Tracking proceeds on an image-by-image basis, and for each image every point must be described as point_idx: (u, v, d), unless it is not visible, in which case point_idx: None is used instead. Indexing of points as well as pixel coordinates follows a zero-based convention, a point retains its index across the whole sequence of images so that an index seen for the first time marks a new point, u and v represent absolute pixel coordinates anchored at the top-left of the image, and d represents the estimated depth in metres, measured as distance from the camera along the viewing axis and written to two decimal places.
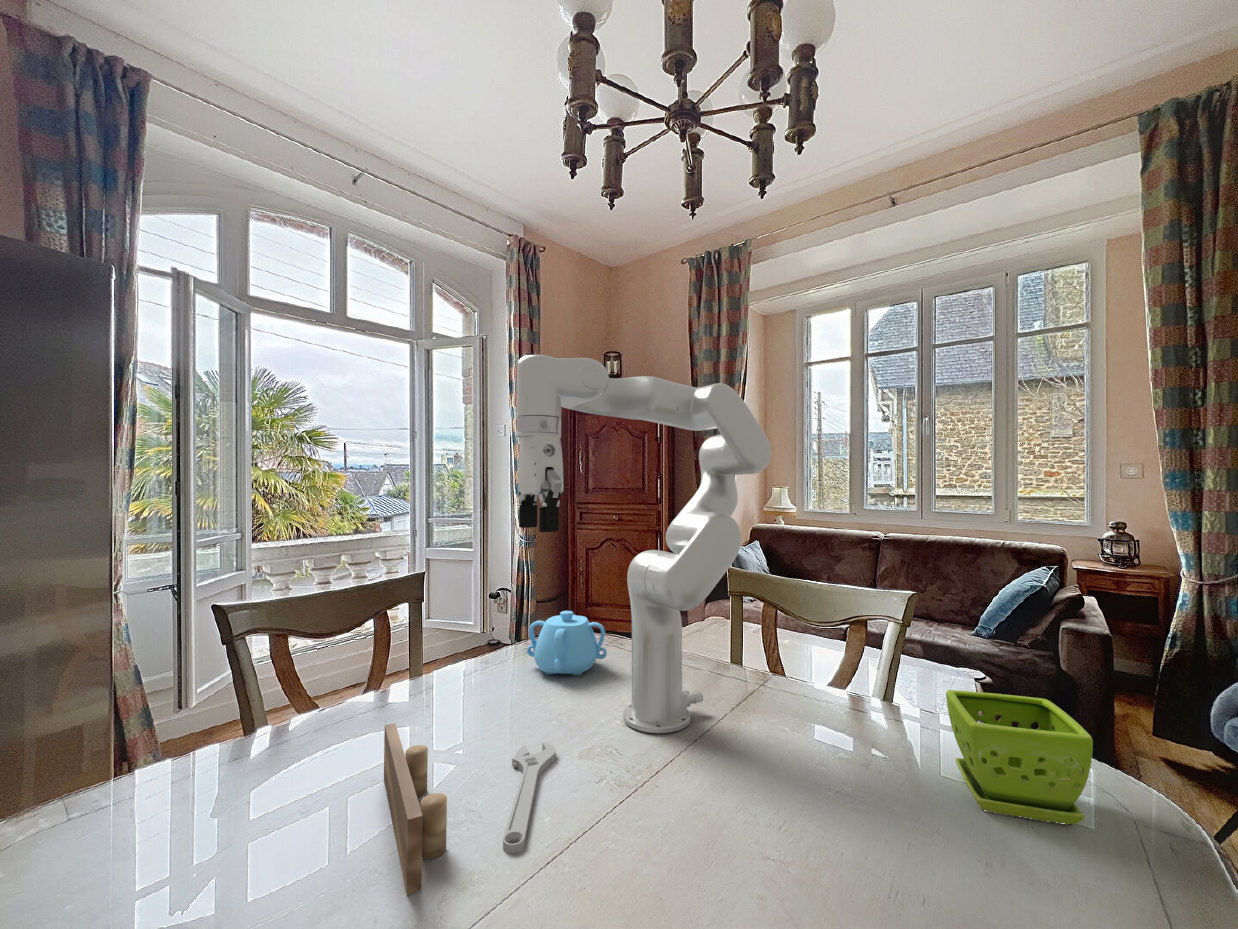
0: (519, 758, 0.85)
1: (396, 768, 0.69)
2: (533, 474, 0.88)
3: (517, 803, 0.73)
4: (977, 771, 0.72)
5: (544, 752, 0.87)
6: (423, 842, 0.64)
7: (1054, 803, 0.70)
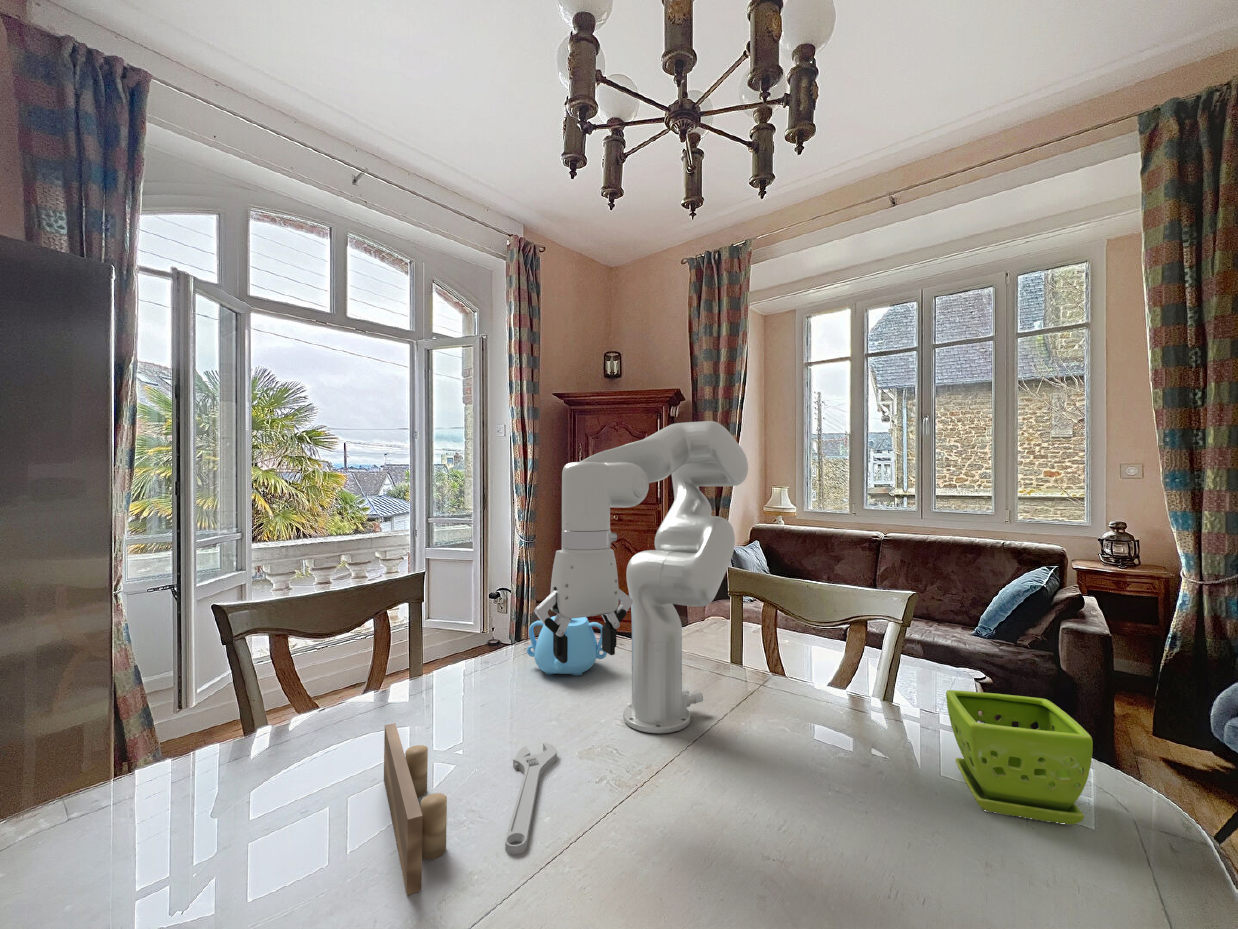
0: (520, 759, 0.85)
1: (396, 768, 0.69)
2: (612, 592, 0.83)
3: (519, 804, 0.73)
4: (977, 771, 0.72)
5: (545, 752, 0.87)
6: (423, 842, 0.64)
7: (1054, 803, 0.70)
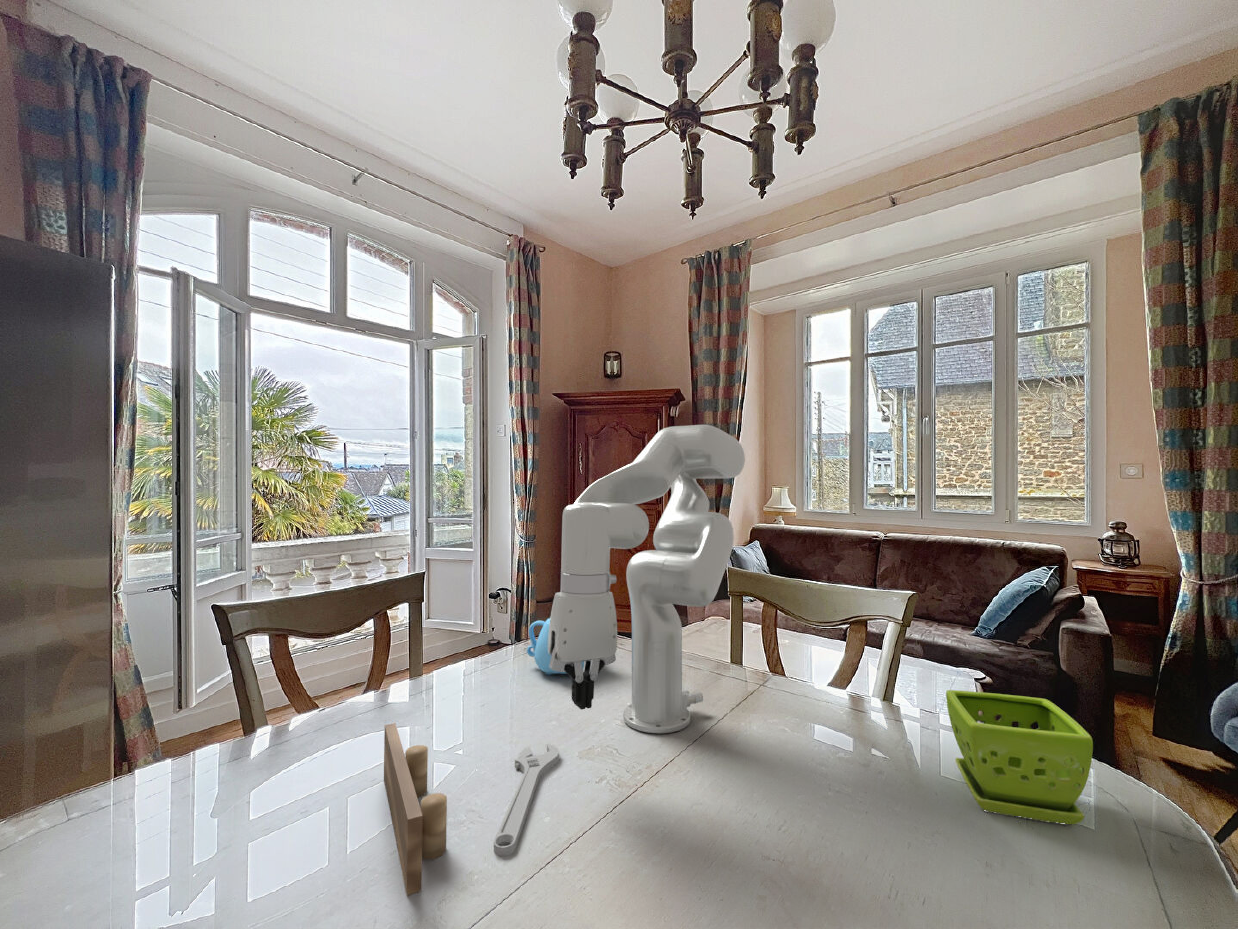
0: (521, 759, 0.85)
1: (396, 768, 0.69)
2: (610, 636, 0.83)
3: (513, 805, 0.73)
4: (977, 771, 0.72)
5: (547, 753, 0.86)
6: (423, 842, 0.64)
7: (1054, 803, 0.70)
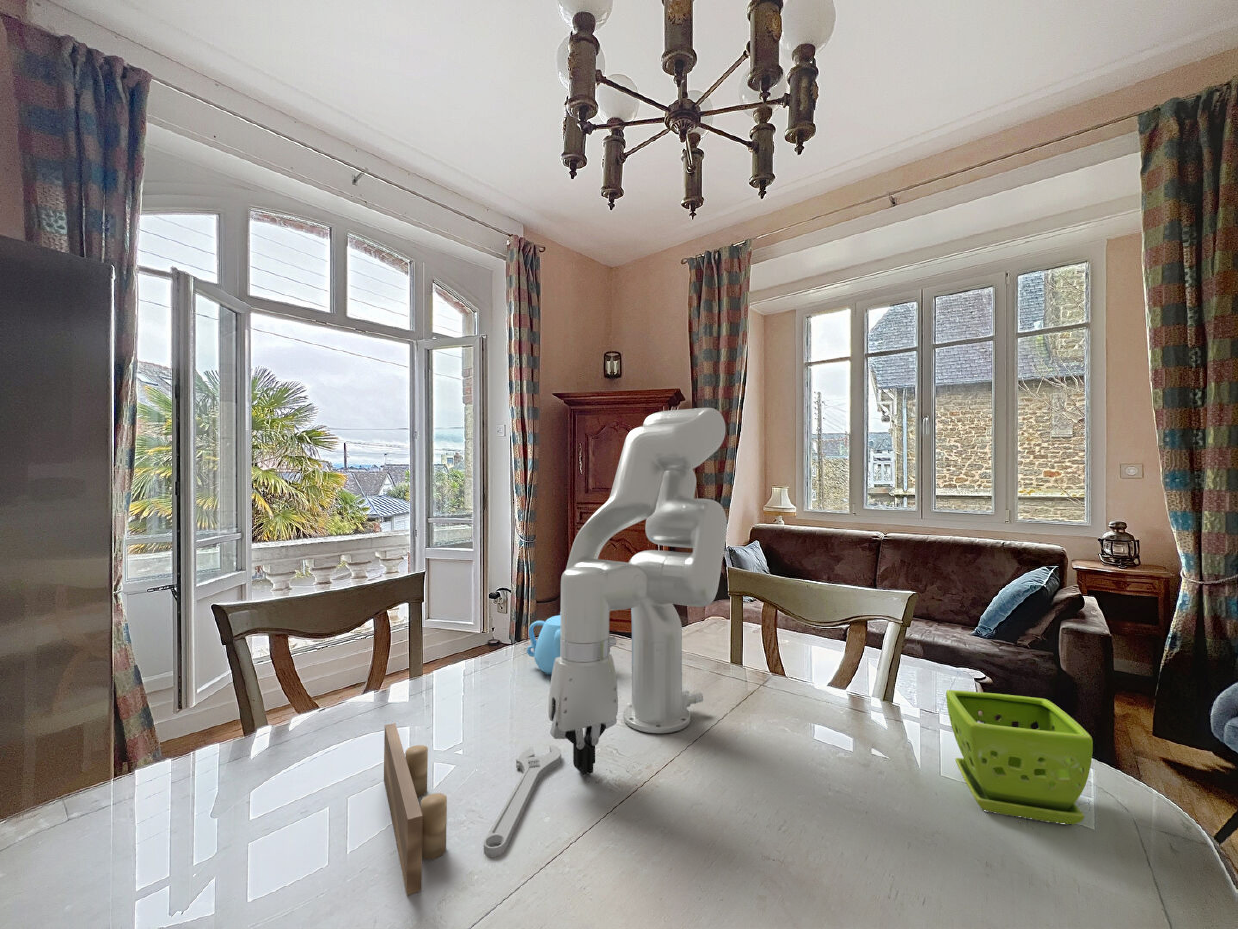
0: (523, 759, 0.84)
1: (396, 768, 0.69)
2: (611, 701, 0.83)
3: (508, 805, 0.73)
4: (977, 771, 0.72)
5: (549, 755, 0.86)
6: (423, 842, 0.64)
7: (1054, 803, 0.70)
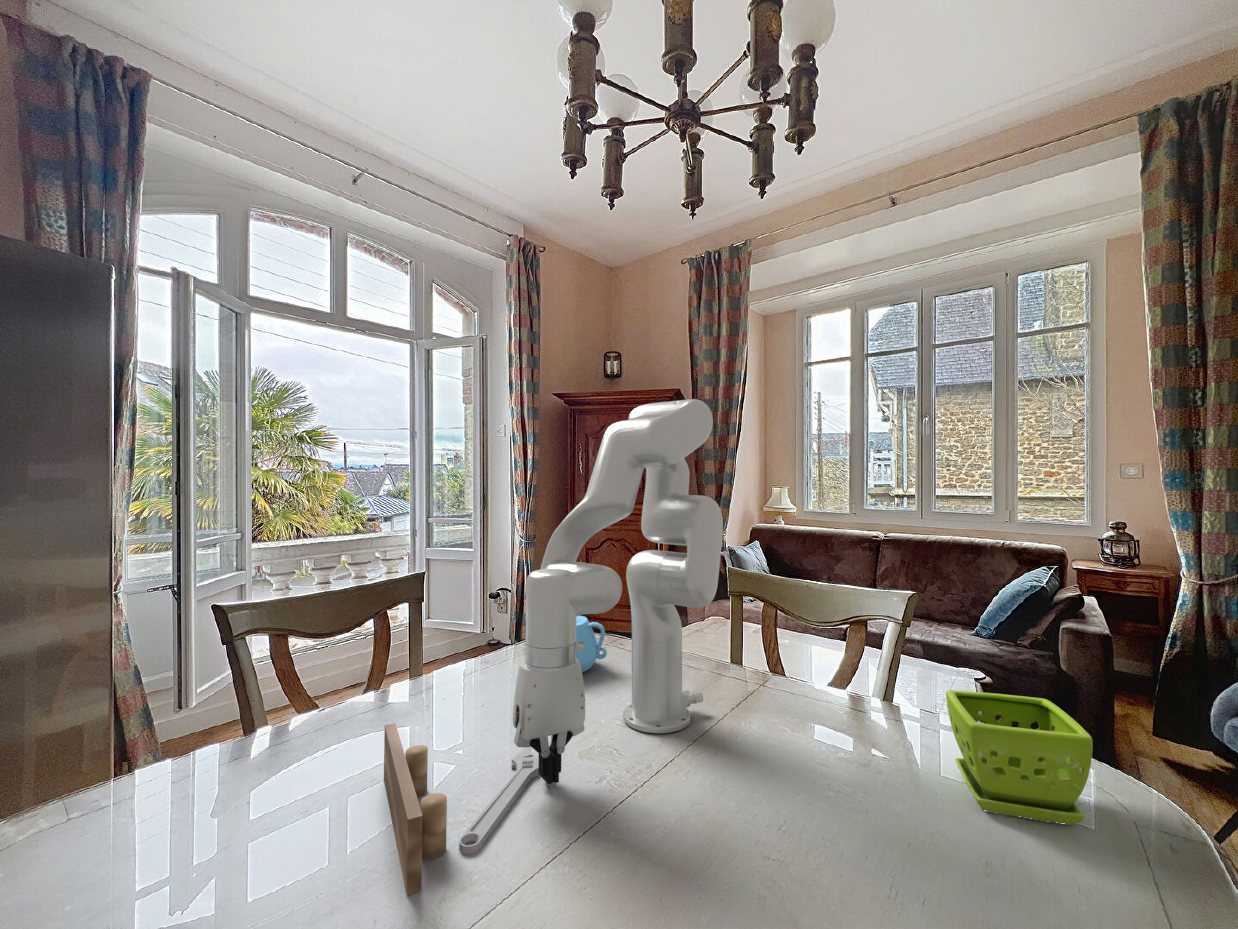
0: (518, 759, 0.85)
1: (396, 768, 0.69)
2: (578, 708, 0.80)
3: (492, 805, 0.73)
4: (977, 771, 0.72)
5: None
6: (423, 842, 0.64)
7: (1054, 803, 0.70)
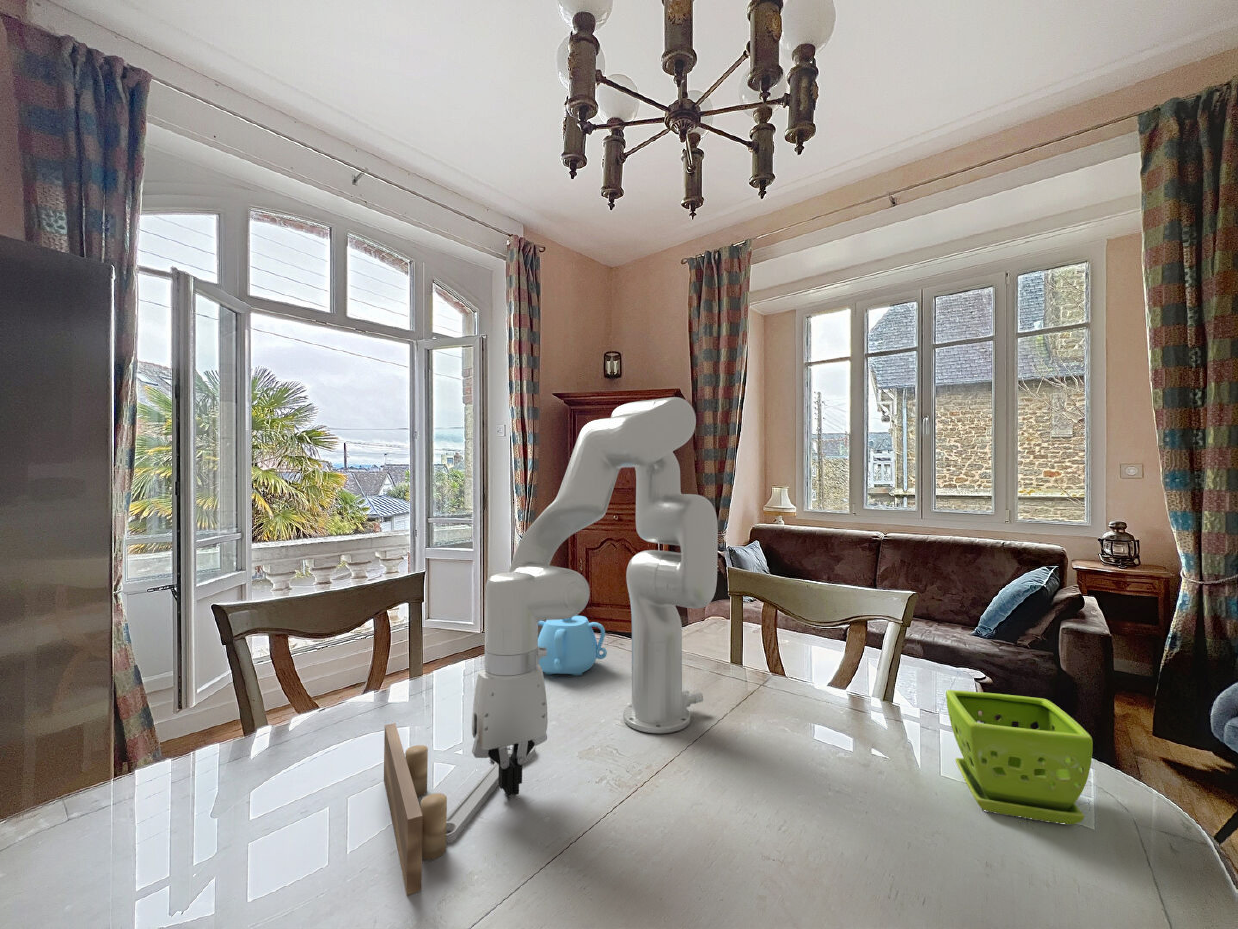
0: None
1: (396, 768, 0.69)
2: (539, 716, 0.77)
3: (469, 796, 0.75)
4: (977, 771, 0.72)
5: None
6: (423, 842, 0.64)
7: (1054, 803, 0.70)
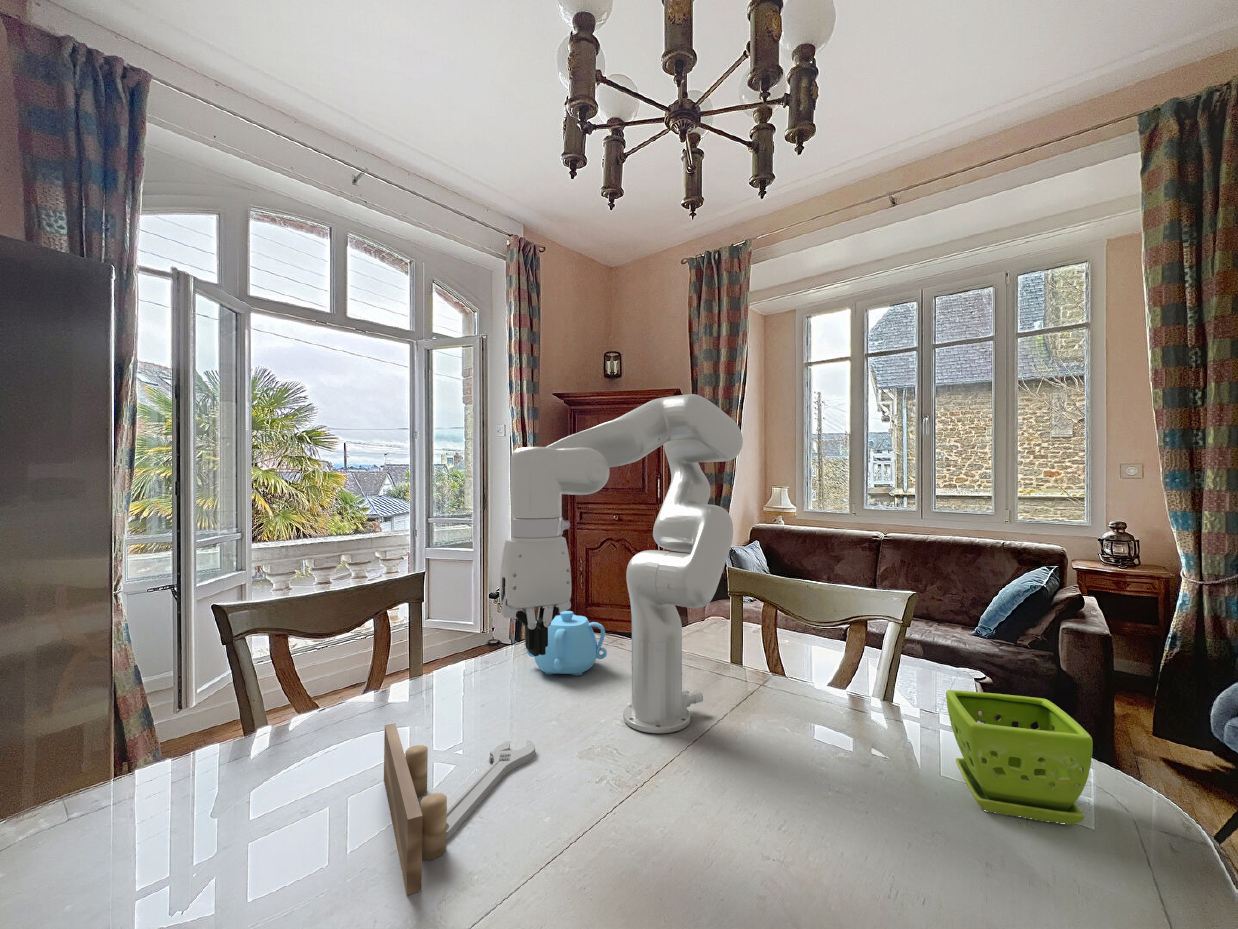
0: (496, 752, 0.87)
1: (396, 768, 0.69)
2: (564, 582, 0.80)
3: (466, 795, 0.75)
4: (977, 771, 0.72)
5: (522, 749, 0.88)
6: (423, 842, 0.64)
7: (1054, 803, 0.70)
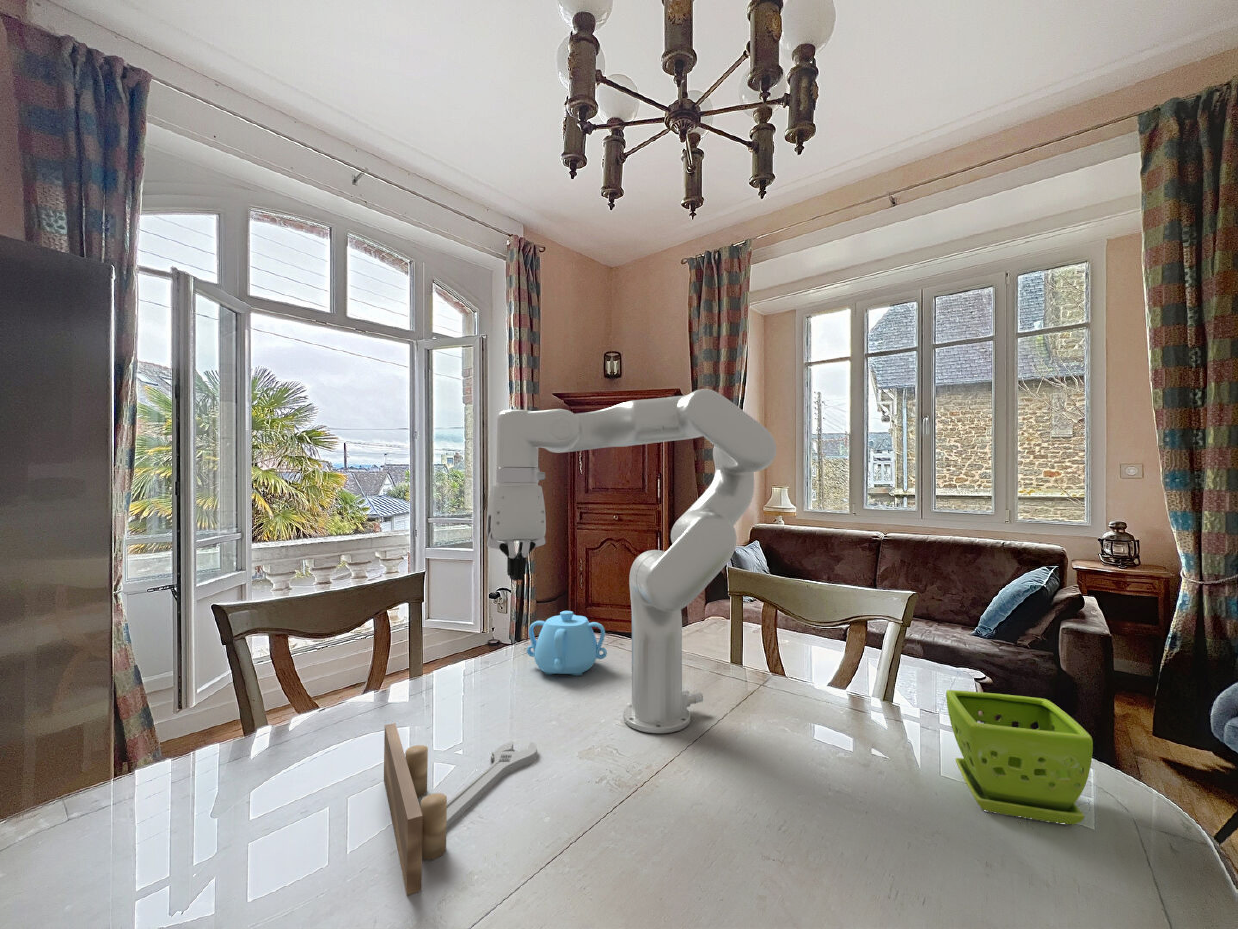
0: (497, 753, 0.87)
1: (396, 768, 0.69)
2: (539, 521, 0.98)
3: (460, 795, 0.75)
4: (977, 771, 0.72)
5: (523, 751, 0.87)
6: (423, 842, 0.64)
7: (1054, 803, 0.70)
